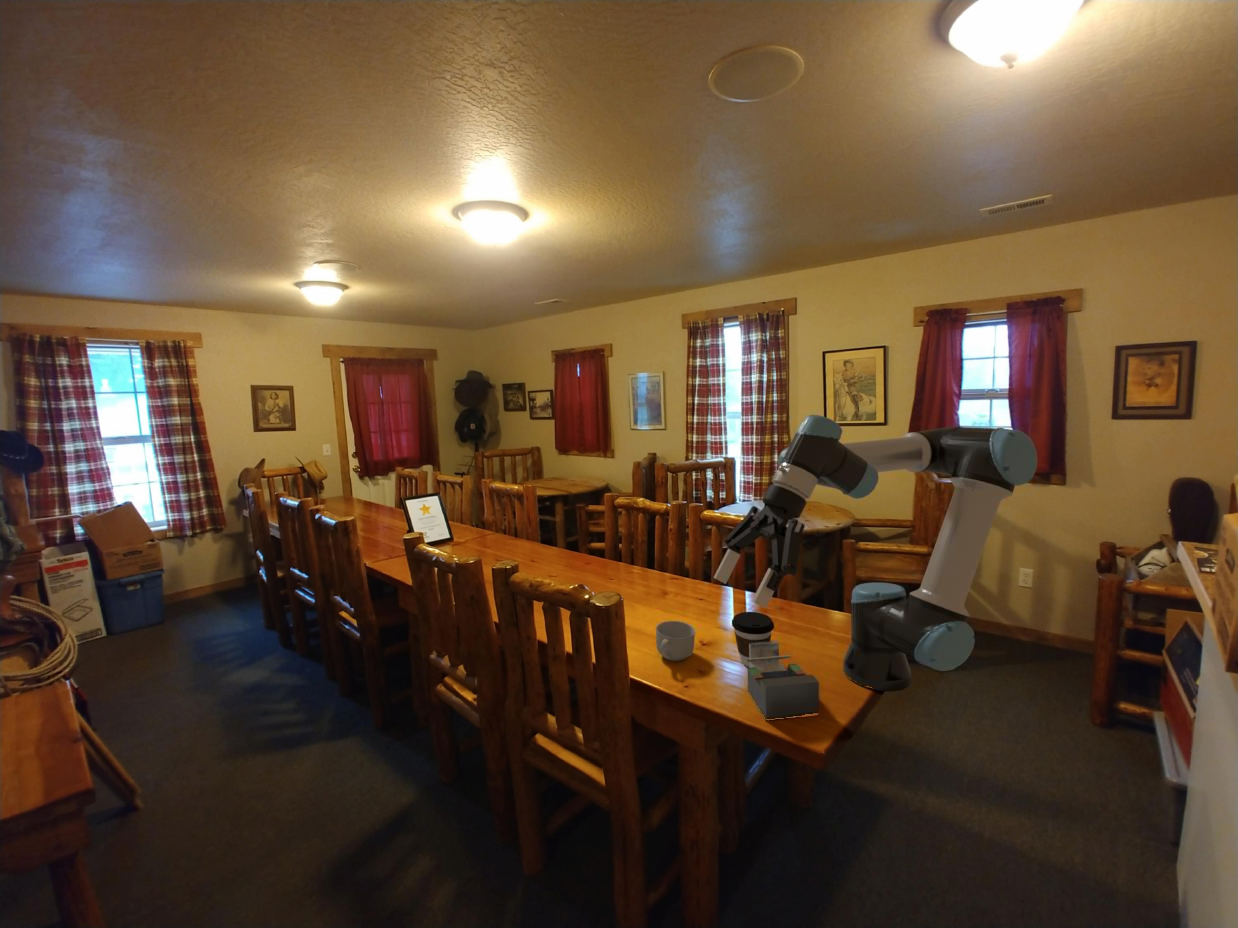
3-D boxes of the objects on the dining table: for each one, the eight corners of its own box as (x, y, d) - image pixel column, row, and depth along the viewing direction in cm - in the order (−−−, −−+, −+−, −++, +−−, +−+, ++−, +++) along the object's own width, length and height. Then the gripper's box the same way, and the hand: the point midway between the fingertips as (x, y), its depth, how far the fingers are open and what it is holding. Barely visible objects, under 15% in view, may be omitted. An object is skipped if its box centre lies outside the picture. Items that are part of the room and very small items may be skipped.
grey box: (747, 691, 123) (747, 660, 122) (795, 686, 124) (795, 655, 123) (765, 721, 112) (765, 686, 111) (818, 715, 113) (818, 681, 112)
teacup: (670, 642, 149) (669, 616, 148) (703, 653, 142) (702, 625, 141) (641, 662, 138) (640, 634, 137) (675, 675, 131) (674, 645, 130)
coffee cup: (779, 672, 131) (779, 627, 129) (736, 673, 131) (736, 629, 129) (768, 651, 142) (767, 610, 140) (728, 652, 142) (727, 611, 140)
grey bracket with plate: (742, 673, 128) (741, 643, 127) (784, 669, 129) (784, 639, 128) (750, 687, 122) (750, 656, 121) (794, 683, 123) (795, 652, 122)
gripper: (738, 475, 108) (692, 565, 106) (820, 492, 84) (761, 608, 83) (764, 491, 110) (719, 579, 109) (851, 512, 87) (794, 625, 85)
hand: (737, 592), depth 96 cm, fingers open, 13 cm apart
